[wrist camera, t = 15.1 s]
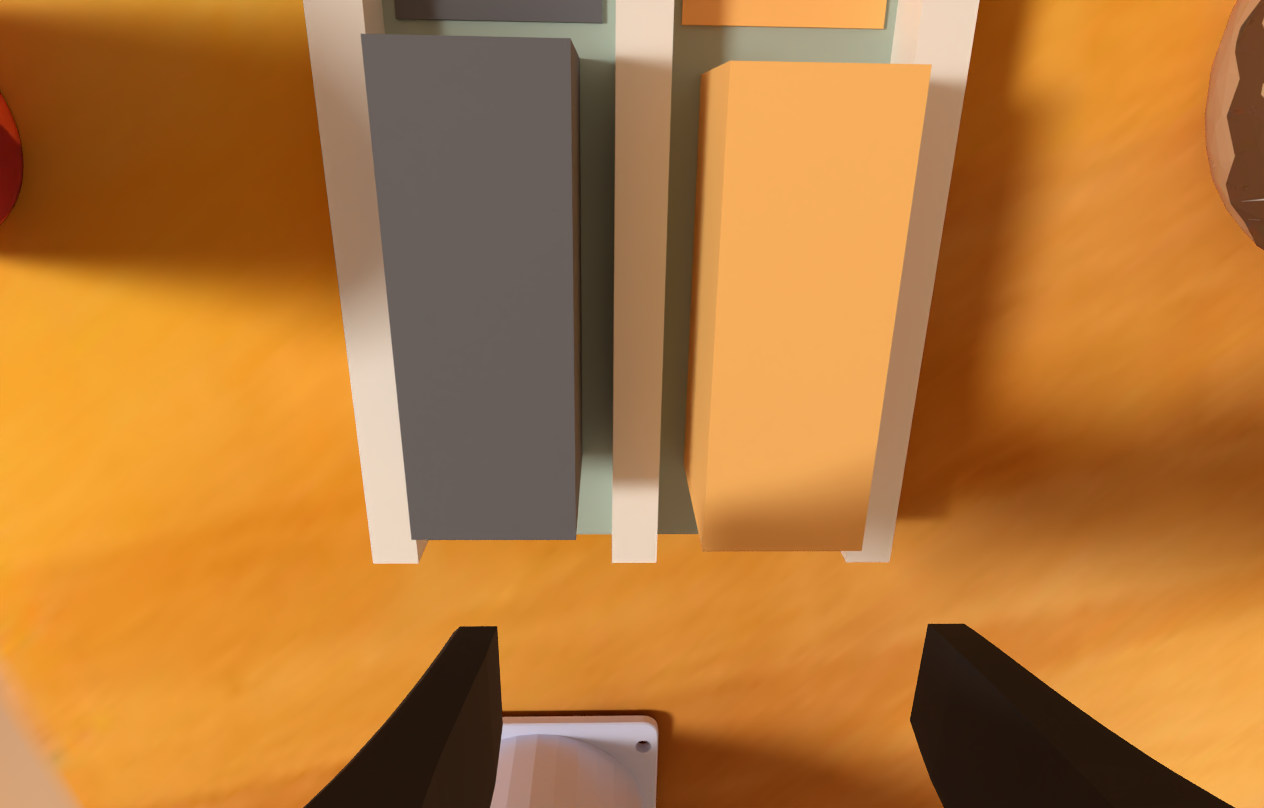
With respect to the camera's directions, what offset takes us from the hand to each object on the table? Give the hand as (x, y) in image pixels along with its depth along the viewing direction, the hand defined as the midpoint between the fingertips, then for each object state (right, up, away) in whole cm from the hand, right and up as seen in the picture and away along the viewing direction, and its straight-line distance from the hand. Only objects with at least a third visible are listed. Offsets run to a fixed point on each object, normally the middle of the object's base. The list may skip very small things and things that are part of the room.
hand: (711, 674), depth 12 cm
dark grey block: (-4, +8, +6) cm, 11 cm away
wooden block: (+2, +7, +7) cm, 10 cm away
